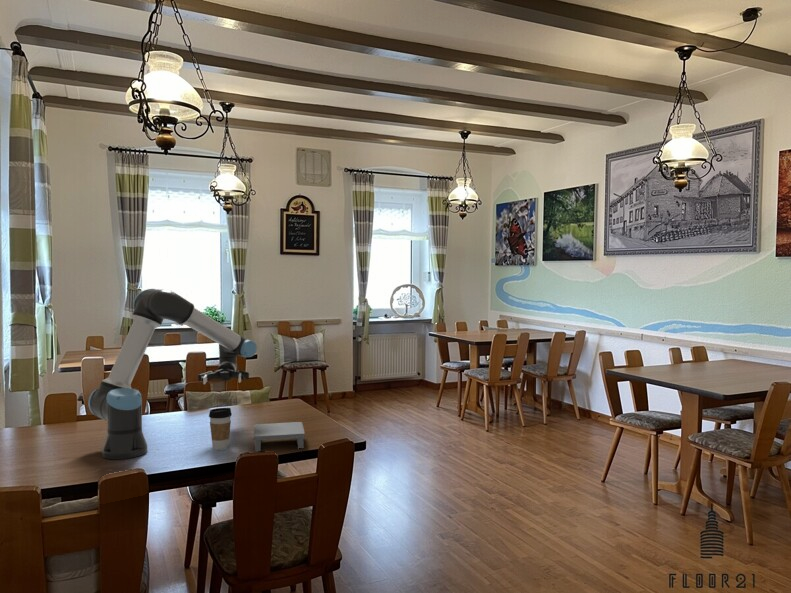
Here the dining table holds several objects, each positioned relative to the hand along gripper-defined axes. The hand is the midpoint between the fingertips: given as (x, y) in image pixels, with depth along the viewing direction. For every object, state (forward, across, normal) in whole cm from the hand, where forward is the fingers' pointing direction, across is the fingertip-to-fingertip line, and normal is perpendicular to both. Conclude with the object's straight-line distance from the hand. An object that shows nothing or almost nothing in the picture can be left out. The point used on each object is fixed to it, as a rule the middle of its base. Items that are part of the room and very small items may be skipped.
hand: (221, 380), depth 231 cm
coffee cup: (+10, 0, -24) cm, 27 cm away
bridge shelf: (+10, -22, -24) cm, 34 cm away
